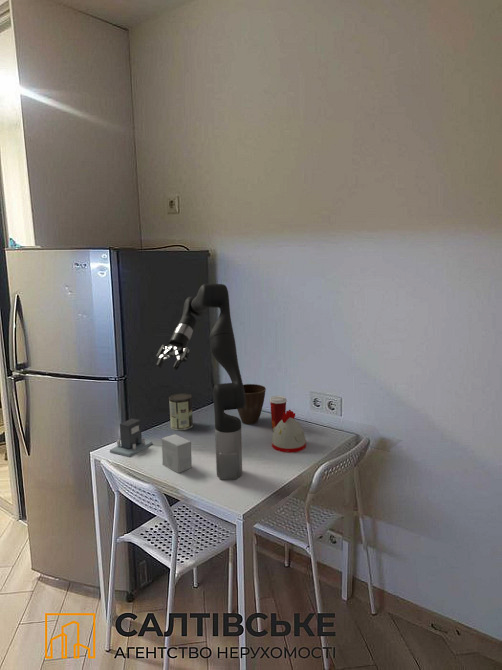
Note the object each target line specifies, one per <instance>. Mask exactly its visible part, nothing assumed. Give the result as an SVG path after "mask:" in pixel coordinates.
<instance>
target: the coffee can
mask: <svg viewBox="0 0 502 670" xmlns="http://www.w3.org/2000/svg"><path fill="white" fill-rule="evenodd" d="M192 399H193V396H192V394H189V393H185V392H183V393H180V392H179V393H175V394H174V393H173V394H172V395H170V396H169V397H168V400H169V401H168V402H169V415H170V416H169V417H170V418H169V419H170V429H172V430H175V431H186V430H189V429H191V428H193V427H194V422H193V420H194V419H193V400H192Z"/></svg>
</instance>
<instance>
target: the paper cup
mask: <svg viewBox="0 0 502 670" xmlns="http://www.w3.org/2000/svg"><path fill="white" fill-rule="evenodd" d="M287 402H288V400H287V397H286V396H284V395H274V396H271V397H270V399H269V403H270V404H269V405H270V415H271V417H270V418H271V427H272V429H273V428H274V427H276V426H277V425H278V423H279V422H280V421H281V420H282V418H281V416H283V413H284V412H285V413H286V411H287Z"/></svg>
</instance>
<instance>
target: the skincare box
mask: <svg viewBox="0 0 502 670" xmlns="http://www.w3.org/2000/svg"><path fill="white" fill-rule="evenodd" d="M161 452H162V454H161V455H162V456H161V458H162V459H161V460H162V465H163V466H165V467H167V468H168V469H170V470H172V471H174V472H176V473H178V474H179V473H181V472H182V473H183V472H185V471H187V470H189V469H192V467H193V465H192V462H193V461H192V441H191V440H188V439H186V438H184V437H182V436H179V435H178V434H175V433H174V434H171V435H168V436H164V437H162V438H161Z"/></svg>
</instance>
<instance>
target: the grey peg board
mask: <svg viewBox="0 0 502 670" xmlns="http://www.w3.org/2000/svg"><path fill="white" fill-rule="evenodd" d="M116 443H117V445H116V446H114V447H113V448H111V449H109V452H110V453H111V454H116V455H120V456H124V457H127V458H128V457H129V458H130V457H132V456H133V455H135V454H137V453H138V452H140V451H142V450H144V449H146V448H147V447H150V446H151V445H153V441H152V440H146V438H145V437H144V438H143V437H142V444H140V445H138V446H136V444H135V443H134V444H133V448H132V449H131V450H129V449H125V448H122V447H121V439H117V440H116Z"/></svg>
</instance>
